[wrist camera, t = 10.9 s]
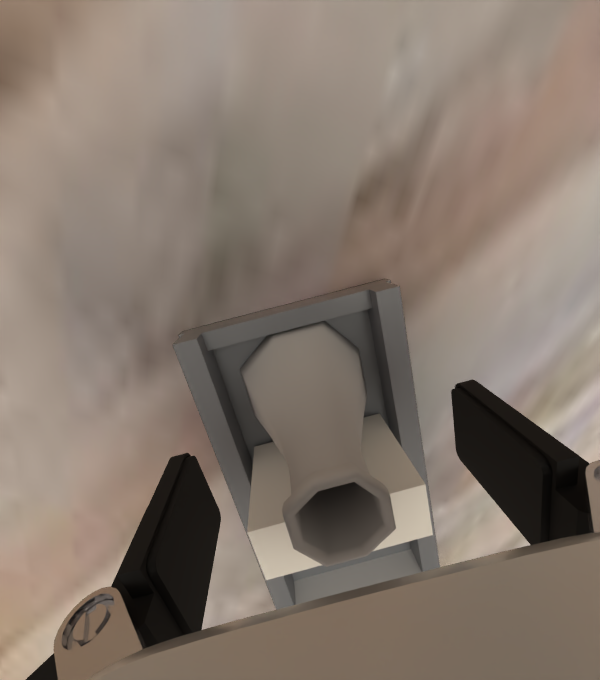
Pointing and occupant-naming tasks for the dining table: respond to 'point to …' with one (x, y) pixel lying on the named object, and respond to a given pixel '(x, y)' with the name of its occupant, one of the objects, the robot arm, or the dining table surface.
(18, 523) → the dining table surface
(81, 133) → the dining table surface
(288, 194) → the dining table surface
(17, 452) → the dining table surface
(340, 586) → the grey rectangular tray
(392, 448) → the pusher
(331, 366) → the flask
